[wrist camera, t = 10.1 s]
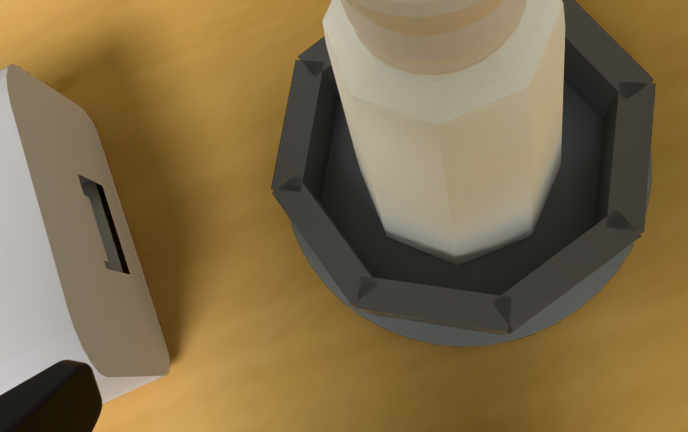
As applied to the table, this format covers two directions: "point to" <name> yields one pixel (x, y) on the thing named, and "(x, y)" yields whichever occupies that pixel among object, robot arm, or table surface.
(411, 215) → the pepper shaker
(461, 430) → the table surface
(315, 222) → the grey octagonal tray
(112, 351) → the charger
